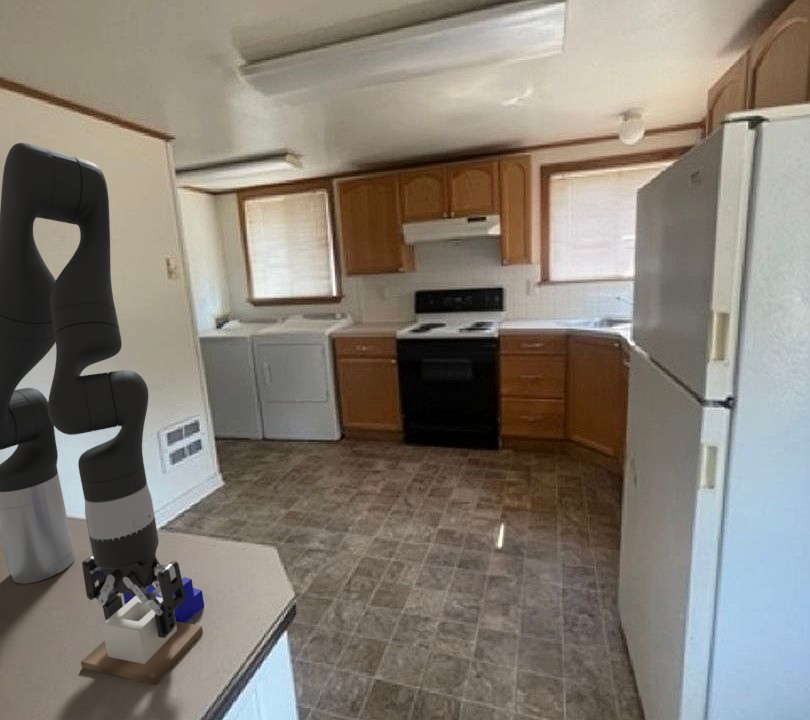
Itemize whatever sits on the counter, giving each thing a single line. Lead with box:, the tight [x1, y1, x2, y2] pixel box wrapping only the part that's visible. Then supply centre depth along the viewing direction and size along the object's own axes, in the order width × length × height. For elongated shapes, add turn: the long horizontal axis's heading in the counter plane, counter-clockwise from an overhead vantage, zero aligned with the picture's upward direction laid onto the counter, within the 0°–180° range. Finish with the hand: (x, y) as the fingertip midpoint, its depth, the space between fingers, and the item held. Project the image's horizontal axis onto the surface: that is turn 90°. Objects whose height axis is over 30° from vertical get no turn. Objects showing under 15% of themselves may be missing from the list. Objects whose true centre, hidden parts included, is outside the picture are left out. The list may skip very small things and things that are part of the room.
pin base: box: [80, 619, 203, 685], centre depth 65 cm, size 12×9×5 cm
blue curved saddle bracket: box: [122, 576, 205, 623], centre depth 73 cm, size 12×4×6 cm, turn 67°
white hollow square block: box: [101, 596, 177, 664], centre depth 65 cm, size 6×6×5 cm
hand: (141, 628), depth 65 cm, fingers open, 8 cm apart
